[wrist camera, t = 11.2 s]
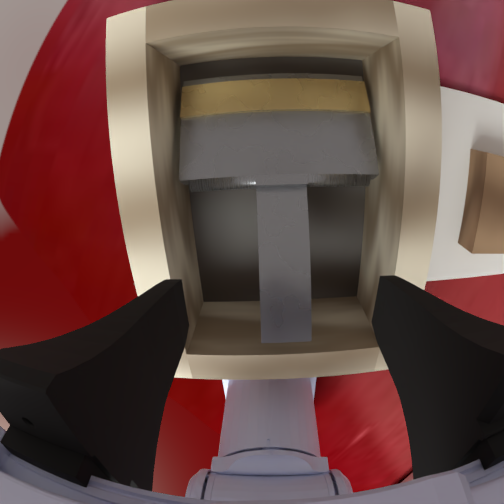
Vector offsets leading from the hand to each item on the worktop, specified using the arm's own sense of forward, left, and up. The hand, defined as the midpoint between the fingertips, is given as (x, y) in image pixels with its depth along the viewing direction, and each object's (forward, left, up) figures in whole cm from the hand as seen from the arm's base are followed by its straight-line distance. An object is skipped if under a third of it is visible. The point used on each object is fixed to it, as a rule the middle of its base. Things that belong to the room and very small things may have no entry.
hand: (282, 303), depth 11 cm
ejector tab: (+2, 0, -6) cm, 6 cm away
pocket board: (+4, 0, -9) cm, 10 cm away
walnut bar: (+2, -16, -9) cm, 18 cm away
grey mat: (+3, -16, -9) cm, 19 cm away
